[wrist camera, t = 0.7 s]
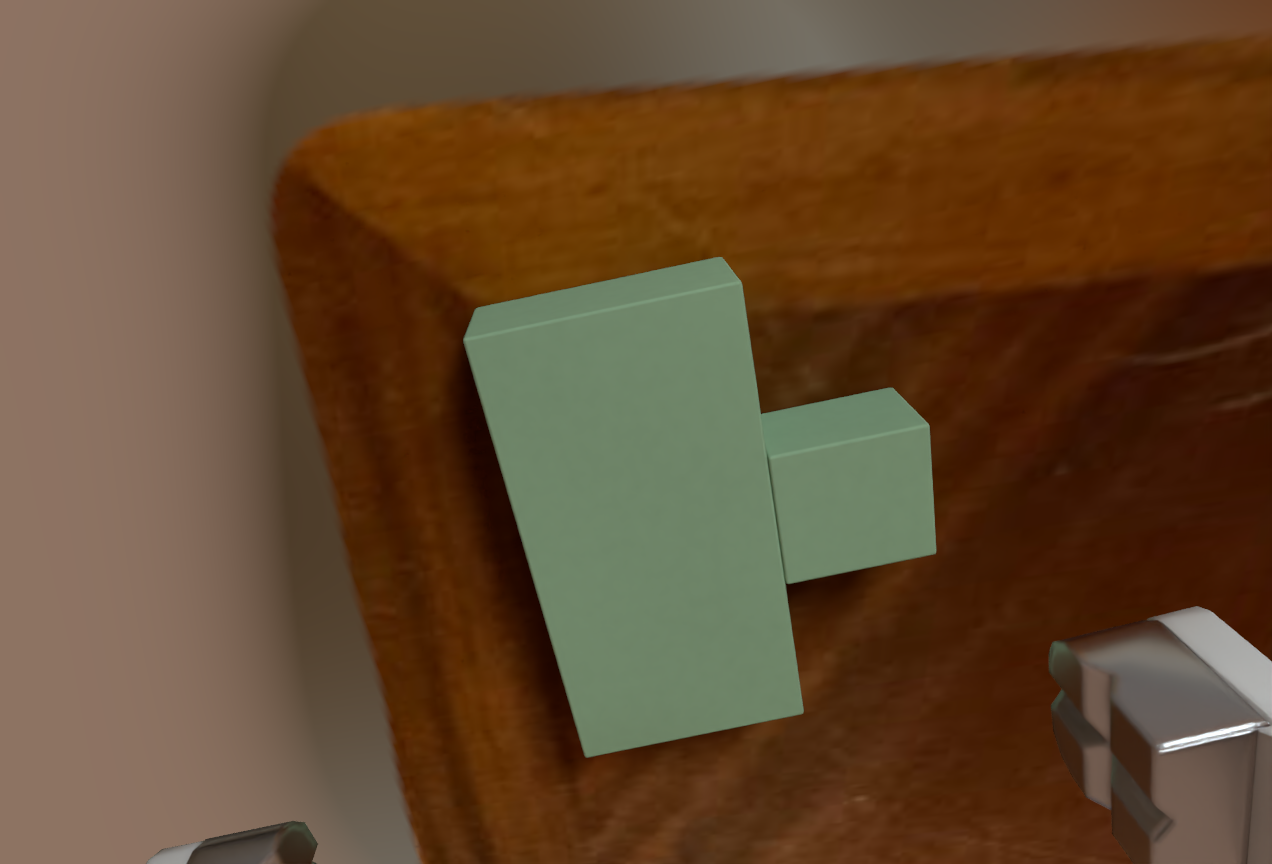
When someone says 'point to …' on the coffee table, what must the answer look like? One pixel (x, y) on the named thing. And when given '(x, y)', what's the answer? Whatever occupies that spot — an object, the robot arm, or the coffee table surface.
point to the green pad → (682, 497)
